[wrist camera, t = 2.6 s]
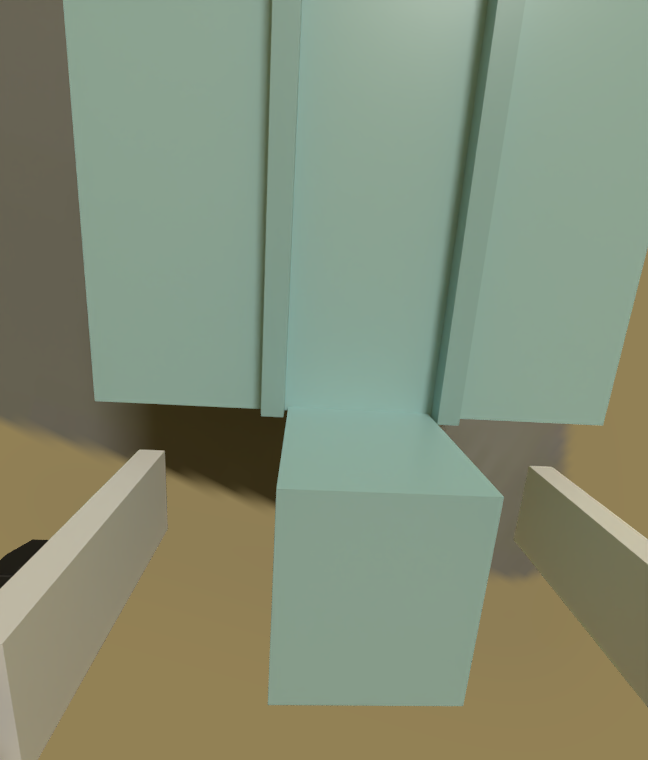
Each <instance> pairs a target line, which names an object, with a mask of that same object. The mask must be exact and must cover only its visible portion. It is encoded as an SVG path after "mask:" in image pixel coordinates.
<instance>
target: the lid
mask: <svg viewBox="0 0 648 760" xmlns="http://www.w3.org/2000/svg"><path fill="white" fill-rule="evenodd" d="M63 6H64V19H65V31H66V44H67V56H68V69H69V81H70V94H71V107H72V119H73V132H74V144H75V157H76V170H77V182H78V195H79V207H80V220H81V233H82V245H83V258H84V270H85V283H86V295H87V308H88V321H89V333H90V346H91V358H92V371H93V384H94V396H95V401H105V402H126V403H147V404H168V405H188V406H209V407H230V408H251V409H261V416H267V417H284V411H285V410H288V413H287V419H286V426H285V433H284V440H283V447H282V454H281V461H280V467H279V474H278V481H277V488H276V511H275V536H274V538H275V539H274V562H273V586H272V613H271V637H270V662H269V687H268V705H363V706H364V705H366V706H367V705H368V706H369V705H370V706H463V703H464V698H465V693H466V688H467V683H468V678H469V672H470V668H471V662H472V657H473V652H474V647H475V642H476V637H477V632H478V627H479V622H480V616H481V612H482V606H483V601H484V596H485V591H486V586H487V581H488V576H489V571H490V566H491V561H492V555H493V550H494V545H495V540H496V535H497V530H498V525H499V520H500V515H501V510H502V504H503V499H504V497H503V496H502V494H501V493H500V492H499V491H498V490H497V489H496V488H495V487H494V486H493V485H492V484H491V482H490V481H489V480H488V479H487V478H486V477H485V476H484V475H483V474H482V473H481V472H480V470H479V469H478V468H477V467H476V466H475V465H474V464H473V463H472V462H471V461H470V459H469V458H468V457H467V456H466V455H465V454H464V453H463V452H462V451H461V450H460V449H459V447H458V446H457V445H456V444H455V443H454V442H453V441H452V440H451V439H450V438H449V437H448V435H447V434H446V433H445V432H444V431H443V430H442V429H441V428H440V427H439V426H438V425H458V426H459V421H460V419H479V420H500V421H521V422H542V423H563V424H584V425H603V423H604V419H605V415H606V411H607V407H608V403H609V399H610V395H611V391H612V387H613V383H614V379H615V375H616V371H617V367H618V363H619V359H620V355H621V351H622V347H623V343H624V339H625V335H626V331H627V327H628V323H629V320H630V315H631V311H632V308H633V304H634V300H635V295H636V291H637V287H638V284H639V279H640V276H641V272H642V267H643V264H644V260H645V256H646V252H647V248H648V0H63Z"/></svg>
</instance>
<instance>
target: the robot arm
mask: <svg viewBox="0 0 648 760" xmlns="http://www.w3.org/2000/svg"><path fill="white" fill-rule="evenodd" d="M167 529H168V524H167V497H166V468H165V451H163V450H140V449H139V450H138V451H137V452H136V453H135V454H134V455H133V456H132V457H131V458H130V459H129V460H128V461H127V462H126V463H125V464H124V465H123V466H122V467H121V468H120V469H119V470H118V471H117V473H116V474H114V476H113V477H112V478H111V479H109V481H107V482H106V484H104V486H103V487H101V488H100V489H99V490H98V492H96V494H95V495H93V496H92V497H91V498H90V499H89V500H88V502H86V504H84V506H82V508H81V509H79V511H77V513H75V515H73V517H72V518H71V519H70V520H69V521H68V522H67V523H66V524H65V525H64V526H63V527H62V528H61V529H60V530H59V531H58V532H57V533H56V534H55V535H54V536H53V537H52V538H51V539H50V540H31V541H29V542H28V543H26V544H24V545H22V546H21V547H19V548H17V549H15V550H14V551H12V552H10V553H8V554H7V555H5V556H4V557H3V558H2V559H1V560H0V760H38V758H39V757H40V755H41V753H42V751H43V749H44V748H45V746H46V744H47V742H48V741H49V739H50V737H51V735H52V733H53V732H54V730H55V728H56V726H57V725H58V723H59V721H60V719H61V717H62V716H63V713H64V712H65V710H66V708H67V707H68V705H69V703H70V701H71V700H72V698H73V696H74V694H75V693H76V691H77V689H78V687H79V685H80V684H81V682H82V680H83V678H84V677H85V675H86V673H87V671H88V670H89V668H90V666H91V664H92V662H93V661H94V659H95V657H96V655H97V654H98V652H99V650H100V648H101V647H102V645H103V643H104V641H105V639H106V638H107V636H108V634H109V632H110V631H111V629H112V627H113V625H114V623H115V622H116V620H117V618H118V616H119V614H120V613H121V611H122V609H123V607H124V606H125V604H126V602H127V600H128V599H129V597H130V595H131V593H132V592H133V590H134V588H135V586H136V584H137V583H138V581H139V579H140V577H141V575H142V574H143V572H144V570H145V568H146V567H147V565H148V563H149V561H150V560H151V557H152V556H153V554H154V552H155V551H156V549H157V547H158V545H159V544H160V542H161V540H162V538H163V536H164V535H165V532H166V531H167ZM514 541H515V542H516V543H517V545H518V546H519V547H520V548H521V550H522V551H523V552H524V553H525V555H526V556H527V557H528V558H529V560H530V561H531V562H532V563H533V565H534V566H535V567H536V568H537V570H538V571H539V572H540V573H541V575H542V576H543V577H544V578H545V579H546V581H547V582H548V583H549V585H550V586H551V587H552V588H553V589H554V591H555V592H556V593H557V595H558V596H559V597H560V598H561V599H562V601H563V602H564V603H565V605H566V606H567V607H568V608H569V610H570V611H571V612H572V613H573V615H574V616H575V617H576V618H577V620H578V621H579V622H580V623H581V625H582V626H583V627H584V628H585V630H586V631H587V632H588V633H589V635H590V636H591V637H592V638H593V640H594V641H595V642H596V643H597V645H598V646H599V647H600V648H601V650H602V651H603V652H604V653H605V655H606V656H607V657H608V658H609V660H610V661H611V662H612V663H613V664H614V666H615V667H616V668H617V669H618V671H619V672H620V673H621V675H622V676H623V677H624V678H625V680H626V681H627V682H628V683H629V685H630V686H631V687H632V688H633V689H634V691H635V692H636V693H637V695H638V696H639V697H640V698H641V699H642V701H643V702H644V703H645V705H646V706H647V707H648V539H647V538H645V537H644V536H642V535H641V534H640V533H639V532H637V531H636V530H635V529H633V528H632V527H631V526H629V525H628V524H627V523H625V522H624V521H623V520H621V519H620V518H619V517H618V516H616V515H615V514H614V513H612V512H611V511H610V510H608V509H607V508H606V507H604V506H603V505H602V504H600V503H599V502H598V501H596V500H595V499H594V498H592V497H591V496H590V495H588V494H587V493H586V492H584V491H583V490H582V489H580V488H579V487H578V486H577V485H575V484H574V483H573V482H571V481H570V480H569V479H567V478H566V477H565V476H563V475H562V474H561V473H559V472H558V471H557V470H555V469H554V468H553V467H545V466H529V468H528V473H527V478H526V483H525V488H524V492H523V497H522V502H521V507H520V512H519V516H518V521H517V526H516V531H515V536H514Z"/></svg>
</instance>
